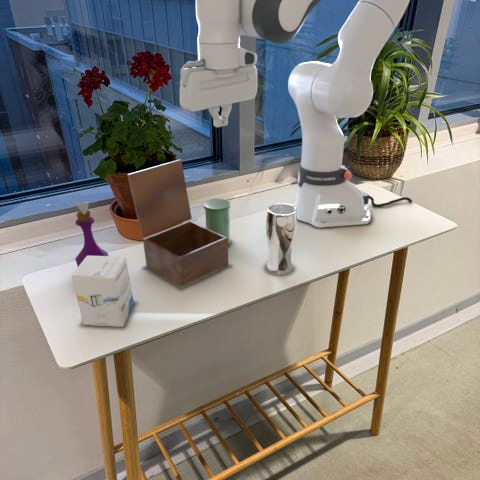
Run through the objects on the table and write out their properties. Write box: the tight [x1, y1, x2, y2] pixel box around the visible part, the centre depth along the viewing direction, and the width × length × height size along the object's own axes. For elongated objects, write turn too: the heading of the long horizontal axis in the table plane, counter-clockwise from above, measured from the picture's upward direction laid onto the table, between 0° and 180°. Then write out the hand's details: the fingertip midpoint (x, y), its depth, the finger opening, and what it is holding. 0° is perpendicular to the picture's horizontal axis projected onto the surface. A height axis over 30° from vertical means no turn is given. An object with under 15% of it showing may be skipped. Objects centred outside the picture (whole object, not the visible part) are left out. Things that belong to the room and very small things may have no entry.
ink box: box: [71, 255, 134, 328], centre depth 97 cm, size 9×8×12 cm
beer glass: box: [265, 203, 298, 276], centre depth 112 cm, size 7×7×15 cm
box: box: [142, 220, 229, 287], centre depth 114 cm, size 13×14×8 cm
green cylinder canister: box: [203, 198, 231, 245], centre depth 123 cm, size 7×7×11 cm
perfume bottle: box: [74, 201, 110, 267], centre depth 109 cm, size 8×8×18 cm
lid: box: [126, 159, 193, 238], centre depth 112 cm, size 14×14×1 cm
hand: (220, 125), depth 110 cm, fingers closed
